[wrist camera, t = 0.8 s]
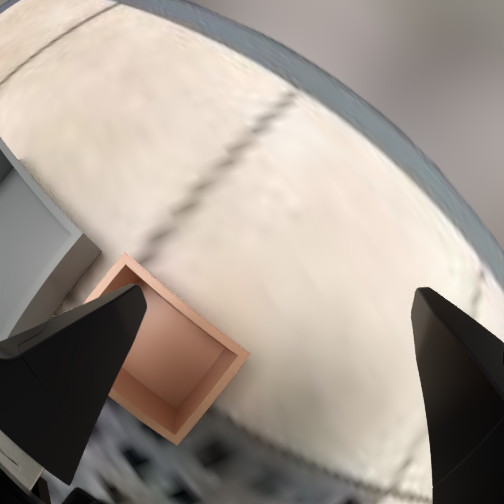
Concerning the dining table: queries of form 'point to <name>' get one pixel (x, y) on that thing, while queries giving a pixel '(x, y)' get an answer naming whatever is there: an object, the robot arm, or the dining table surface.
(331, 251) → the dining table surface
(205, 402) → the small crate
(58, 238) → the big crate
